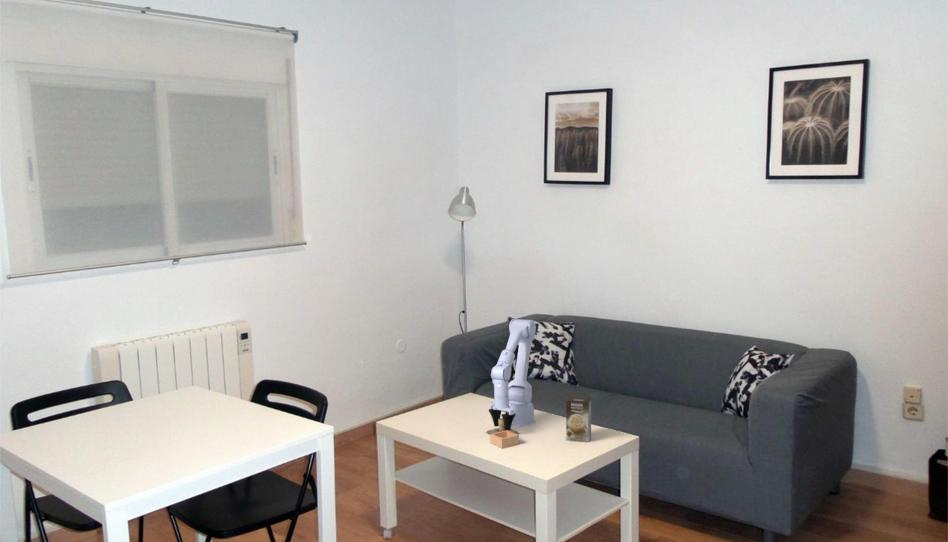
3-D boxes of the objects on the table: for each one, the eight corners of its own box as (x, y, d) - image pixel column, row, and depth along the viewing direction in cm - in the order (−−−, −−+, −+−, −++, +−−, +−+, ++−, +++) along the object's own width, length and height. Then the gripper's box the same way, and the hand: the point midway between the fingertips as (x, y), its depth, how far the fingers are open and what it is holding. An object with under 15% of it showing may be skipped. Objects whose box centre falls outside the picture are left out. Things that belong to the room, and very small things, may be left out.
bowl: (507, 440, 302) (507, 430, 302) (519, 445, 295) (518, 435, 295) (490, 444, 298) (490, 434, 297) (502, 449, 291) (501, 439, 291)
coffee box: (565, 440, 299) (564, 400, 298) (569, 435, 305) (568, 396, 304) (589, 442, 296) (588, 401, 295) (592, 437, 302) (591, 397, 301)
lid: (505, 428, 315) (504, 414, 315) (518, 434, 308) (517, 419, 307) (487, 432, 311) (486, 418, 310) (499, 438, 303) (499, 424, 303)
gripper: (483, 393, 312) (484, 425, 313) (503, 400, 299) (504, 434, 301) (497, 390, 315) (498, 422, 317) (518, 397, 303) (518, 431, 305)
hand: (502, 428), depth 309 cm, fingers open, 7 cm apart
